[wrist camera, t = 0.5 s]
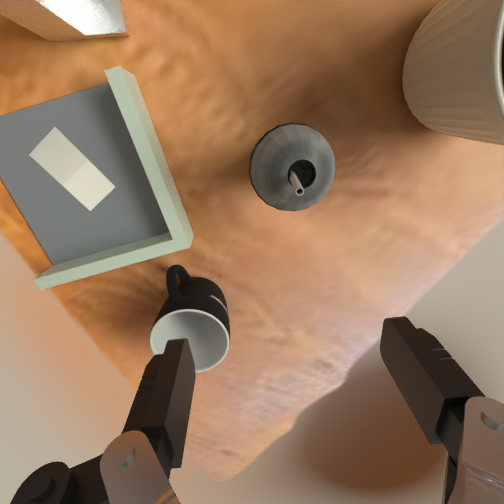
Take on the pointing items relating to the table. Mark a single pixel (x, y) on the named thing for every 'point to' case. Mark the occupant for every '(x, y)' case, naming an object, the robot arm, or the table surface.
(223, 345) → the mug
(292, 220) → the table surface
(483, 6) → the canister
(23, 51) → the table surface
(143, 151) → the corner walls
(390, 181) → the table surface
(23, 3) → the bracket
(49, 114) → the mat
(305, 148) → the beverage cup
